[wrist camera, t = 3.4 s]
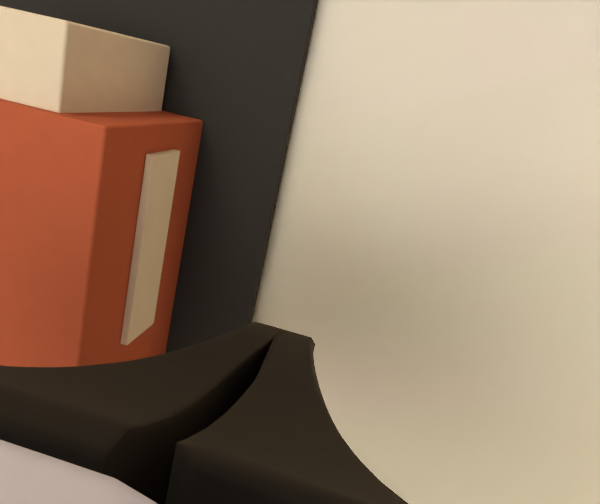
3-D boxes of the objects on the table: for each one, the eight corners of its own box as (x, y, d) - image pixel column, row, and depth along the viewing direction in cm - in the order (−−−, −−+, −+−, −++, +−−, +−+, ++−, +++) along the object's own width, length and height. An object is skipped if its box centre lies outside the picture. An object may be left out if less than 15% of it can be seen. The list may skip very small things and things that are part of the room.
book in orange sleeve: (160, 422, 19) (66, 538, 14) (23, 378, 20) (-115, 474, 15) (221, 57, 16) (127, 33, 11) (54, 20, 17) (-112, -20, 11)
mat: (210, 518, 20) (206, 525, 20) (-169, 390, 22) (-179, 394, 22) (322, -19, 15) (320, -22, 15) (-181, -120, 17) (-195, -126, 17)
